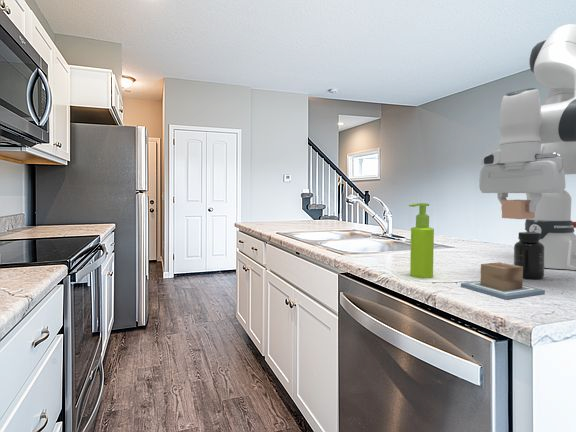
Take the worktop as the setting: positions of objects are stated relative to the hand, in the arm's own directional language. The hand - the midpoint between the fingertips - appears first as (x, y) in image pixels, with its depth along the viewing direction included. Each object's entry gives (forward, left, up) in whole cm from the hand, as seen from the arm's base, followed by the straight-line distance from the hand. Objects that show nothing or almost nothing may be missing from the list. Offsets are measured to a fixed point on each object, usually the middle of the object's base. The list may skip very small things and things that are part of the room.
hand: (518, 211), depth 91 cm
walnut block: (+10, +4, -17) cm, 20 cm away
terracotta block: (0, 0, -2) cm, 2 cm away
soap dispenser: (+17, -15, -18) cm, 29 cm away
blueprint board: (+10, +4, -18) cm, 21 cm away
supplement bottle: (-9, -3, -18) cm, 20 cm away
